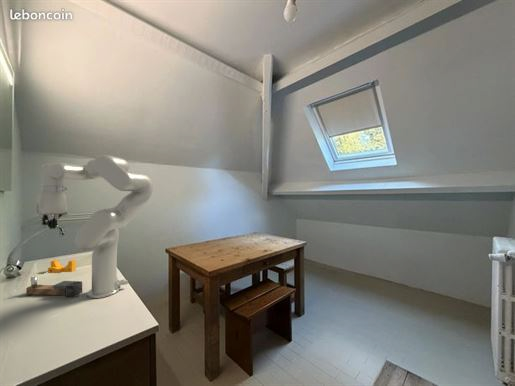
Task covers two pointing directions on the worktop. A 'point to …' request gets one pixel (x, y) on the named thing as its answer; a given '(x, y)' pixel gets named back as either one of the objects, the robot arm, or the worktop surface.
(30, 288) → the link
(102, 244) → the robot arm
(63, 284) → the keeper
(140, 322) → the worktop surface
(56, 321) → the worktop surface
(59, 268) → the pipe clamp
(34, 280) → the pintle
